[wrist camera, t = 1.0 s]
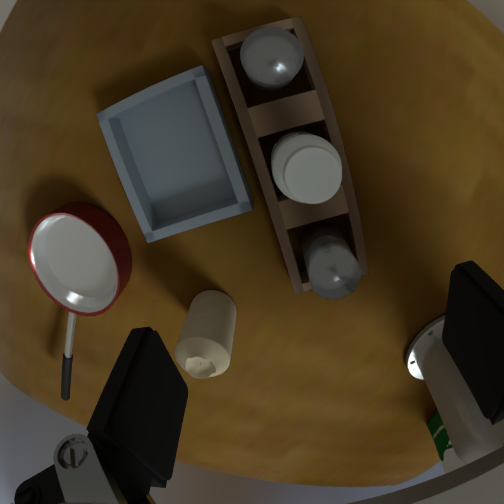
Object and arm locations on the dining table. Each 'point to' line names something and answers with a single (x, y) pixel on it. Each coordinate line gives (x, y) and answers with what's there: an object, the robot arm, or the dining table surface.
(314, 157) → the pill bottle
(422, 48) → the dining table surface
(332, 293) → the peg
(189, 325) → the candle
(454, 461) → the milk carton
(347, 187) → the socket rack
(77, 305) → the frying pan
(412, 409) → the dining table surface
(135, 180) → the tray
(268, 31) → the peg
